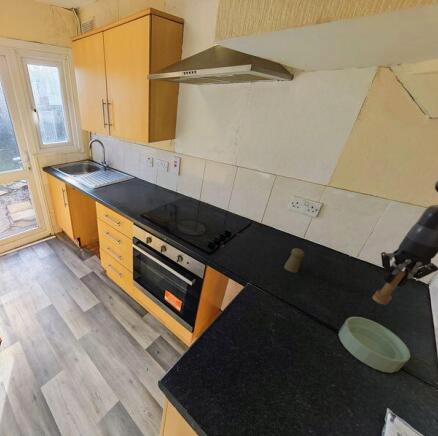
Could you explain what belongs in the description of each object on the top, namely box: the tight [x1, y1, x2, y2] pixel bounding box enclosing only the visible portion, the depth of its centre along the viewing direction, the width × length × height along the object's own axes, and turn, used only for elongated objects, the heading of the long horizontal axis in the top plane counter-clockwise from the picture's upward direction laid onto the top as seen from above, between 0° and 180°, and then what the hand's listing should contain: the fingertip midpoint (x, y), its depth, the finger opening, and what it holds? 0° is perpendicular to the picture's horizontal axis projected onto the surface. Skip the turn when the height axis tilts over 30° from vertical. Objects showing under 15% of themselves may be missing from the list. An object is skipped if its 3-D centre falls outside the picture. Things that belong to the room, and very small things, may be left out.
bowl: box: [338, 316, 411, 374], centre depth 72 cm, size 15×15×6 cm
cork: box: [283, 247, 306, 274], centre depth 107 cm, size 6×6×11 cm
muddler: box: [372, 270, 406, 306], centre depth 76 cm, size 4×4×13 cm
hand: (392, 283), depth 76 cm, fingers closed on muddler, 2 cm apart
